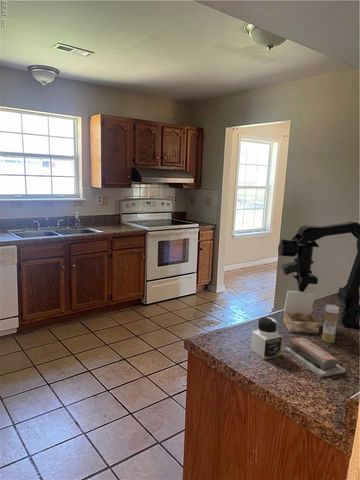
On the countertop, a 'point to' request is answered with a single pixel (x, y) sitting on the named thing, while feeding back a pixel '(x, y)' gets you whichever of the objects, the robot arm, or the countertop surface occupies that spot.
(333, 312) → the sprinkles bottle
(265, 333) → the medicine bottle
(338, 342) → the countertop surface
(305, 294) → the lid
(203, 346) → the countertop surface
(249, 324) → the countertop surface
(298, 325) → the box
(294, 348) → the packaged product
